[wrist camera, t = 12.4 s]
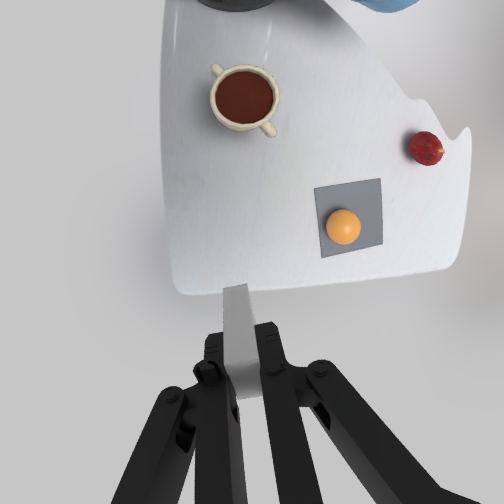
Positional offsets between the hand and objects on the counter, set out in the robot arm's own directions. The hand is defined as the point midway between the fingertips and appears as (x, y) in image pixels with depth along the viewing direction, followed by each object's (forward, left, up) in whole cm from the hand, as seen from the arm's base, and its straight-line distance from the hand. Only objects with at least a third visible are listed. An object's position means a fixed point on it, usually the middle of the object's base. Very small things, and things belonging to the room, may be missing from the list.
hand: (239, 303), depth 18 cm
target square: (+6, +19, -26) cm, 33 cm away
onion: (-5, +33, -27) cm, 43 cm away
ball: (+6, +16, -24) cm, 29 cm away
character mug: (-14, +4, -27) cm, 30 cm away
